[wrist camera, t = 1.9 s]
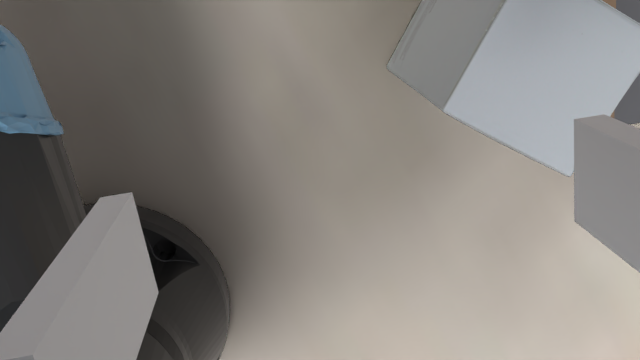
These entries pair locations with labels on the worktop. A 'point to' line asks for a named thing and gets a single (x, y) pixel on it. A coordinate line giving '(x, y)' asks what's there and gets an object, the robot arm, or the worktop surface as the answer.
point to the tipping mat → (636, 103)
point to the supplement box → (521, 68)
